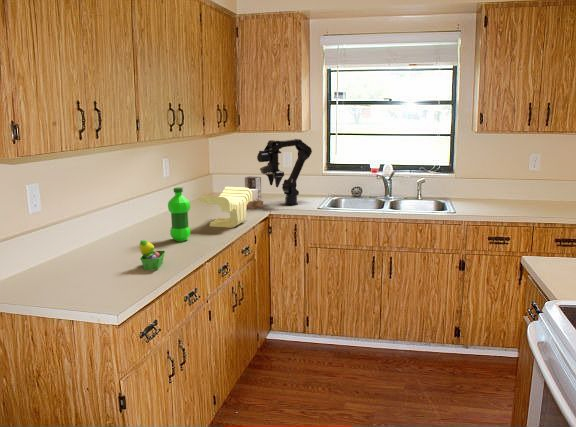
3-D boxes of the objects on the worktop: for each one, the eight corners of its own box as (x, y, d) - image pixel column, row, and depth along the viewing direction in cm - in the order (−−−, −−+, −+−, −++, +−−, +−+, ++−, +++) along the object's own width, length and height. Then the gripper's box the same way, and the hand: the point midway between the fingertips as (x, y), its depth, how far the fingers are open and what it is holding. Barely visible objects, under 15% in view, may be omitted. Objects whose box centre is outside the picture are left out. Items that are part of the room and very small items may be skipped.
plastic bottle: (195, 238, 257) (193, 187, 252) (183, 243, 247) (181, 190, 242) (177, 236, 260) (175, 185, 255) (165, 241, 251) (162, 189, 246)
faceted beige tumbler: (258, 199, 334) (258, 188, 332) (258, 201, 327) (258, 190, 325) (247, 199, 333) (247, 188, 332) (247, 201, 327) (246, 190, 325)
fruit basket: (160, 271, 207) (158, 243, 205) (137, 271, 207) (135, 243, 205) (166, 262, 218) (164, 235, 216) (144, 262, 218) (142, 236, 216)
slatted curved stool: (230, 231, 269) (229, 197, 265) (202, 229, 273) (200, 195, 270) (252, 219, 296) (252, 187, 293) (226, 217, 301) (225, 186, 298)
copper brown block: (257, 204, 337) (257, 198, 337) (263, 207, 328) (263, 201, 328) (242, 206, 333) (242, 200, 333) (248, 209, 324) (247, 202, 324)
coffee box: (261, 201, 350) (261, 176, 347) (256, 202, 345) (255, 178, 341) (250, 200, 355) (250, 176, 351) (244, 201, 349) (244, 177, 346)
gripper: (255, 160, 329) (256, 185, 333) (267, 163, 313) (267, 189, 316) (272, 159, 334) (272, 183, 337) (284, 162, 317) (284, 188, 320)
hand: (274, 186), depth 328 cm, fingers open, 9 cm apart
